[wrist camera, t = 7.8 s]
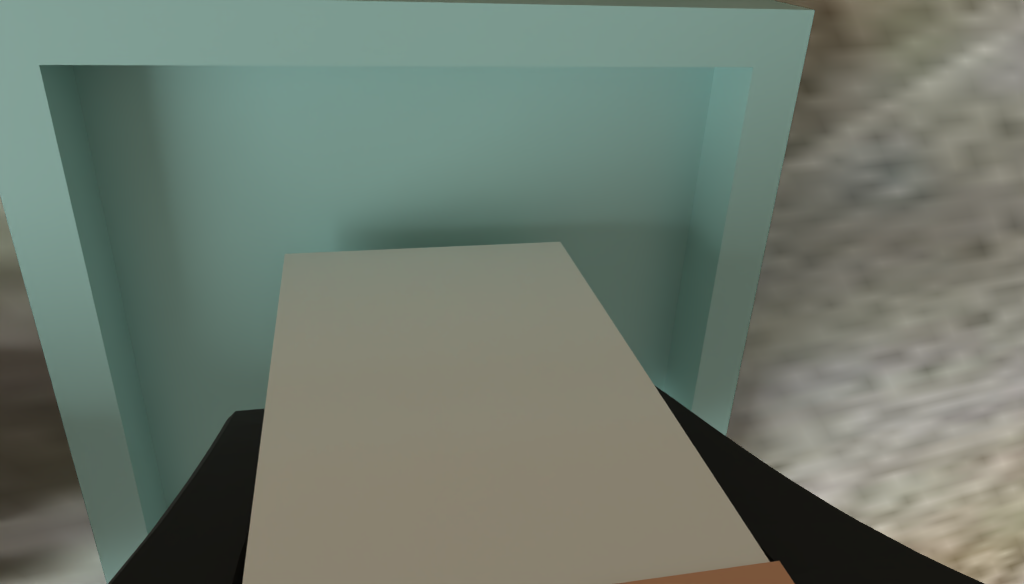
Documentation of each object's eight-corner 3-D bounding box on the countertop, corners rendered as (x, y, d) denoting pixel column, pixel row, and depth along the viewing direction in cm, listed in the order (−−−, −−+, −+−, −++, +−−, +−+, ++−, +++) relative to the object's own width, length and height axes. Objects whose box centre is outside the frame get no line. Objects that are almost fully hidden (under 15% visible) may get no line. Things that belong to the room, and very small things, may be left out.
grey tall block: (563, 238, 12) (878, 707, 5) (546, 454, 14) (756, 1003, 7) (280, 251, 11) (198, 834, 4) (304, 478, 13) (275, 1133, 6)
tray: (754, -4, 12) (815, 9, 11) (665, 510, 17) (697, 570, 16) (3, -23, 10) (-56, -8, 9) (146, 573, 15) (125, 651, 14)
